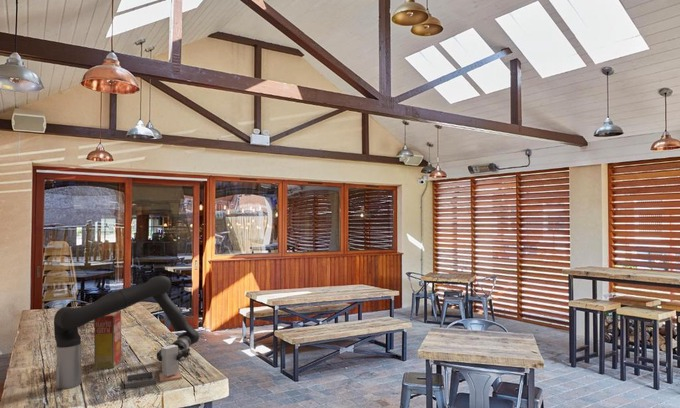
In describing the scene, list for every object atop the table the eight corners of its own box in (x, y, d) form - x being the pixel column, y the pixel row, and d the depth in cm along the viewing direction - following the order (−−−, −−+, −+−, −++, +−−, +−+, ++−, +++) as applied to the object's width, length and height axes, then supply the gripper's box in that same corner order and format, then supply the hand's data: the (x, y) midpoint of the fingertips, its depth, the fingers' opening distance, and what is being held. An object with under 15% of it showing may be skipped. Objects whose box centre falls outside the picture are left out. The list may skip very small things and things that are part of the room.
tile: (160, 382, 205) (160, 380, 205) (159, 375, 213) (159, 374, 213) (182, 378, 208) (182, 376, 208) (180, 372, 216) (180, 370, 216)
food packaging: (114, 368, 226) (113, 315, 227) (93, 369, 225) (92, 316, 225) (122, 359, 239) (121, 310, 240) (102, 361, 238) (101, 311, 238)
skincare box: (173, 370, 214) (173, 344, 214) (179, 372, 212) (178, 345, 212) (161, 374, 210) (160, 347, 210) (166, 376, 207) (165, 349, 207)
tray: (125, 388, 198) (125, 383, 198) (125, 380, 209) (125, 375, 209) (154, 383, 202) (154, 379, 203) (153, 375, 213) (153, 371, 213)
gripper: (163, 340, 225) (151, 350, 208) (194, 339, 225) (184, 349, 209) (163, 356, 224) (152, 368, 208) (194, 355, 225) (185, 366, 209)
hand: (168, 358), depth 208 cm, fingers closed on skincare box, 7 cm apart
